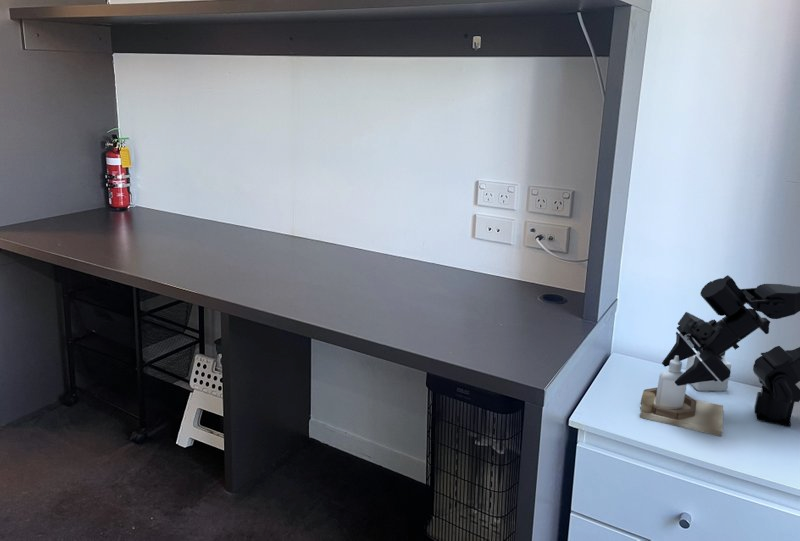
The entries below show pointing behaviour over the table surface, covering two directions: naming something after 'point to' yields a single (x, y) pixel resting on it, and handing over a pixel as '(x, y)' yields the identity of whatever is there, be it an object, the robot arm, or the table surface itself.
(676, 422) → the board
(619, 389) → the table surface
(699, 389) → the medicine bottle
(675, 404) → the eye dropper bottle
